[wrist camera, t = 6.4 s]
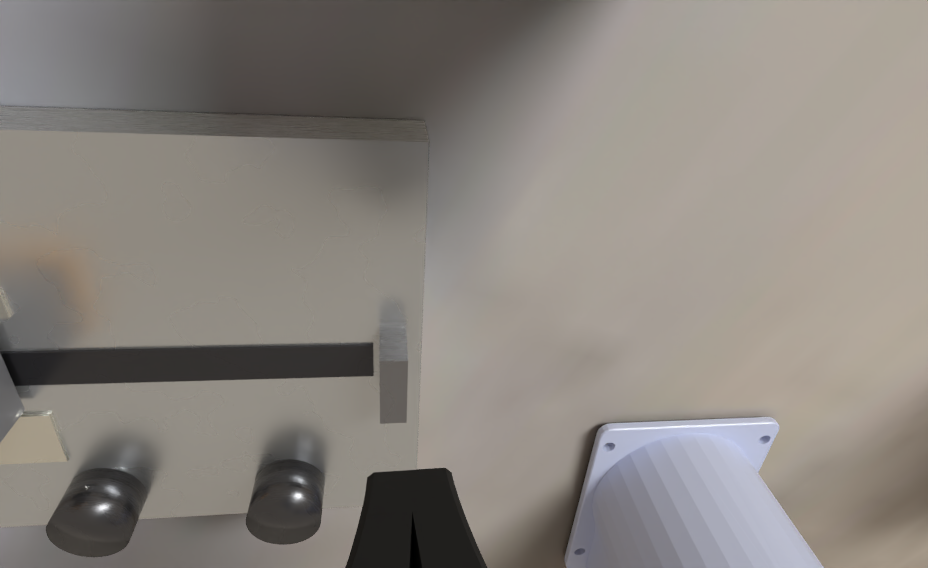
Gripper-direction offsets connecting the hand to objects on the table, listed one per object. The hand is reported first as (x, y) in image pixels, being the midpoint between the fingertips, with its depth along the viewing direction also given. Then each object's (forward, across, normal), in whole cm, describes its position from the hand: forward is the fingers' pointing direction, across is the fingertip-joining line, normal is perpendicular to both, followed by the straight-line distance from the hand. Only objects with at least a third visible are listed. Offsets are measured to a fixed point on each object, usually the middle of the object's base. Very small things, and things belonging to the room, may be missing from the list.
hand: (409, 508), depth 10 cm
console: (+10, +8, +3) cm, 13 cm away
